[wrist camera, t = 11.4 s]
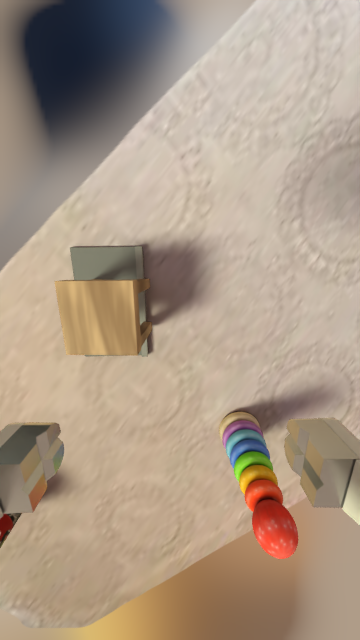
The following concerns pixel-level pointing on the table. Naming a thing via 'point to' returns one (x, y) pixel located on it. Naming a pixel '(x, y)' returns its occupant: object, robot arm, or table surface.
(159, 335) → the table surface
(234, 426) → the stacking toy
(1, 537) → the canned food
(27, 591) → the table surface
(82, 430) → the table surface
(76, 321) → the stool
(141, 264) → the mat
